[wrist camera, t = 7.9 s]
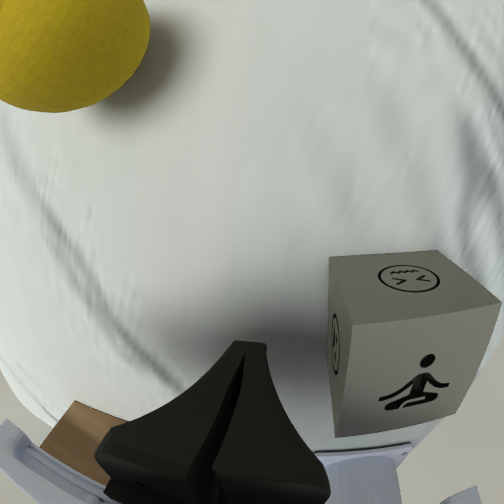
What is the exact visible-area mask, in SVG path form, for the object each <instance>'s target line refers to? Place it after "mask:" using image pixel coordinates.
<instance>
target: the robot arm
mask: <svg viewBox="0 0 504 504" xmlns="http://www.w3.org/2000/svg"><path fill="white" fill-rule="evenodd" d="M266 351H267V345H266V344H265V343H258V342H246V341H236V340H235V341H234V342H232V344H231V345H230V346H229V348H228V349H227V350H226V352H225V353H224V354H223V355H222V356H221V358H220V359H219V360H218V361H217V362H216V363H215V364H214V365H213V366H212V367H211V368H210V370H209V371H208V372H207V373H205V374H204V375H203V376H202V377H201V378H200V379H199V380H198V381H197V382H196V383H195V384H193V385H192V386H191V387H190V388H189V389H187V390H186V391H185V392H183V393H182V394H181V395H179V396H178V397H176V398H175V399H173V400H172V401H170V402H169V403H167V404H165V405H164V406H162V407H160V408H158V409H156V410H154V411H152V412H150V413H148V414H146V415H144V416H142V417H140V418H137V419H135V420H132V421H129V422H126V423H123V424H120V425H117V426H114V427H111V428H110V430H109V431H108V432H107V433H106V435H105V436H104V438H103V439H102V441H101V442H100V444H99V446H98V447H97V449H96V451H95V452H94V458H95V460H96V461H97V463H98V464H99V465H100V466H101V468H102V469H103V470H104V471H105V472H106V473H107V474H108V475H109V476H110V477H111V478H110V480H109V482H108V484H107V486H105V485H102V484H100V483H98V482H96V481H94V480H92V479H90V478H88V477H87V476H85V475H83V474H81V473H79V472H77V471H76V470H74V469H72V468H70V467H69V466H67V465H65V464H64V463H62V462H60V461H59V460H57V459H56V458H54V457H52V456H51V455H49V454H48V453H46V452H45V451H43V450H42V449H41V448H39V447H38V446H36V445H35V444H33V443H32V442H31V440H30V439H29V438H28V436H27V435H25V433H24V432H23V431H22V430H20V428H18V427H17V426H16V425H14V424H13V423H12V422H11V421H10V420H9V419H6V420H5V421H4V422H3V423H2V425H1V426H0V470H1V471H2V472H3V473H4V474H5V475H6V476H7V477H8V478H10V479H11V480H12V481H13V482H14V483H15V484H16V485H17V486H18V487H19V488H20V489H21V490H23V491H24V492H25V493H26V494H27V495H28V496H30V497H31V498H32V499H33V500H34V501H36V502H37V503H38V504H105V503H106V504H402V501H401V495H400V489H399V483H398V477H397V472H396V468H397V467H398V466H399V464H400V463H401V462H402V461H403V460H404V459H405V457H406V456H407V455H408V454H409V452H410V451H411V450H412V448H413V447H412V444H405V445H399V446H393V447H386V448H379V449H370V450H361V451H348V452H329V453H315V454H314V453H313V452H312V451H311V450H310V449H309V447H308V446H307V445H306V443H305V442H304V441H303V439H302V438H301V437H300V435H299V434H298V432H297V431H296V429H295V428H294V426H293V424H292V423H291V421H290V420H289V418H288V416H287V414H286V412H285V410H284V408H283V406H282V404H281V402H280V400H279V397H278V395H277V392H276V390H275V387H274V384H273V381H272V378H271V374H270V371H269V367H268V362H267V355H266ZM440 504H481V500H480V496H479V493H478V489H477V486H473V487H471V488H468V489H466V490H464V491H461V492H459V493H456V494H454V495H453V496H450V497H448V498H447V499H445V500H444V501H442V502H441V503H440Z"/></svg>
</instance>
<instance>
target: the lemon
mask: <svg viewBox="0 0 504 504" xmlns="http://www.w3.org/2000/svg"><path fill="white" fill-rule="evenodd" d="M149 38H150V18H149V14H148V11H147V9H146V6H145V3H144V1H143V0H0V99H1V100H2V101H4V102H6V103H8V104H10V105H13V106H15V107H18V108H22V109H25V110H30V111H38V112H50V113H59V112H67V111H72V110H76V109H80V108H84V107H88V106H90V105H93V104H95V103H97V102H99V101H101V100H103V99H105V98H107V97H108V96H110V95H111V94H112V93H114V92H115V91H116V90H118V89H119V88H120V87H122V85H123V84H124V83H125V82H126V81H127V80H128V79H129V78H130V77H131V76H132V75H133V73H134V72H135V70H136V69H137V67H138V66H139V65H140V63H141V61H142V59H143V56H144V54H145V52H146V50H147V46H148V42H149Z"/></svg>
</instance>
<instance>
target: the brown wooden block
mask: <svg viewBox="0 0 504 504" xmlns="http://www.w3.org/2000/svg"><path fill="white" fill-rule="evenodd" d="M126 422H128V421H125V420H122V419H119V418H116V417H114V416H111V415H108V414H106V413H103V412H100V411H98V410H96V409H93V408H91V407H88V406H86V405H84V404H81V403H79V402H77V401H74V402H73V404H72V405H71V406H70V407H69V409H68V410H67V411H66V413H65V414H64V415H63V416H62V418H61V419H60V420H59V422H58V423H57V424H56V426H55V427H54V428H53V430H52V431H51V432H50V434H49V435H48V436H47V438H46V439H45V440H44V442H43V443H42V444H41V446H40V447H39V448H41V449H42V450H43V451H45V452H46V453H48V454H49V455H51V456H52V457H54V458H56V459H57V460H59V461H60V462H62V463H64V464H65V465H67V466H69V467H70V468H72V469H74V470H76V471H77V472H79V473H81V474H83V475H85V476H87V477H88V478H90V479H92V480H94V481H96V482H98V483H100V484H102V485H105V486H107V484H108V482H109V480H110V478H111V477H110V476H109V475H108V474H107V473H106V472H105V471H104V470H103V469H102V468H101V466H100V465H99V464H98V463H97V461H96V460H95V458H94V452H95V451H96V449H97V447H98V446H99V444H100V442H101V441H102V439H103V438H104V436H105V435H106V433H107V432H108V431H109V430H110V428H111V427H114V426H117V425H120V424H123V423H126Z"/></svg>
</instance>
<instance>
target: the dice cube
mask: <svg viewBox="0 0 504 504" xmlns="http://www.w3.org/2000/svg"><path fill="white" fill-rule="evenodd" d="M501 304H502V302H501V301H500V300H499V299H498V298H496V297H495V296H494V295H493V294H492V293H491V292H489V291H488V290H487V289H486V288H485V287H484V286H482V285H481V284H480V283H479V282H478V281H476V280H475V279H474V278H473V277H471V276H470V275H469V274H468V273H466V272H465V271H464V270H463V269H461V268H460V267H459V266H457V265H456V264H455V263H453V262H452V261H451V260H449V259H448V258H447V257H445V256H444V255H443V254H441V253H440V252H439V251H437V250H433V251H417V252H401V253H385V254H369V255H351V256H334V257H329V309H328V335H327V353H326V356H327V364H328V372H329V380H330V389H331V399H332V409H333V419H334V431H335V438H338V437H347V436H356V435H364V434H371V433H377V432H383V431H388V430H394V429H399V428H403V427H408V426H412V425H416V424H420V423H424V422H428V421H432V420H435V419H439V418H442V417H446V416H449V415H452V414H455V413H456V411H457V410H458V408H459V406H460V404H461V402H462V401H463V399H464V397H465V395H466V393H467V391H468V389H469V387H470V385H471V383H472V381H473V379H474V377H475V375H476V372H477V370H478V368H479V366H480V363H481V361H482V359H483V356H484V354H485V351H486V349H487V346H488V344H489V341H490V338H491V335H492V333H493V330H494V327H495V324H496V321H497V318H498V314H499V311H500V308H501Z"/></svg>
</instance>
